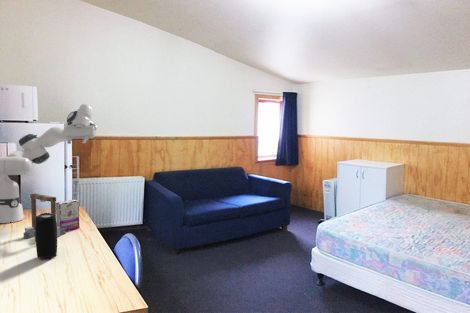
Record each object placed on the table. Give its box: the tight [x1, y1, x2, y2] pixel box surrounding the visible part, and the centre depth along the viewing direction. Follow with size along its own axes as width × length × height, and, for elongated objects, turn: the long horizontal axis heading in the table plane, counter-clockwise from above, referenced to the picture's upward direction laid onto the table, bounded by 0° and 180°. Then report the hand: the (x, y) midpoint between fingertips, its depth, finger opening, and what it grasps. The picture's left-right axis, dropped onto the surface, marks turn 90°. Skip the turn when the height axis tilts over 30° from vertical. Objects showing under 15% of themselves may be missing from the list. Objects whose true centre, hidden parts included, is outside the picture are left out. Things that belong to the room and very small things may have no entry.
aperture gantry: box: [29, 193, 57, 230], centre depth 191 cm, size 18×3×22 cm, turn 62°
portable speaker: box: [35, 212, 58, 261], centre depth 162 cm, size 9×9×20 cm
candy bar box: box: [56, 199, 80, 233], centre depth 204 cm, size 11×5×16 cm, turn 143°
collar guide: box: [23, 226, 66, 243], centre depth 192 cm, size 14×16×5 cm
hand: (76, 143), depth 222 cm, fingers open, 8 cm apart
